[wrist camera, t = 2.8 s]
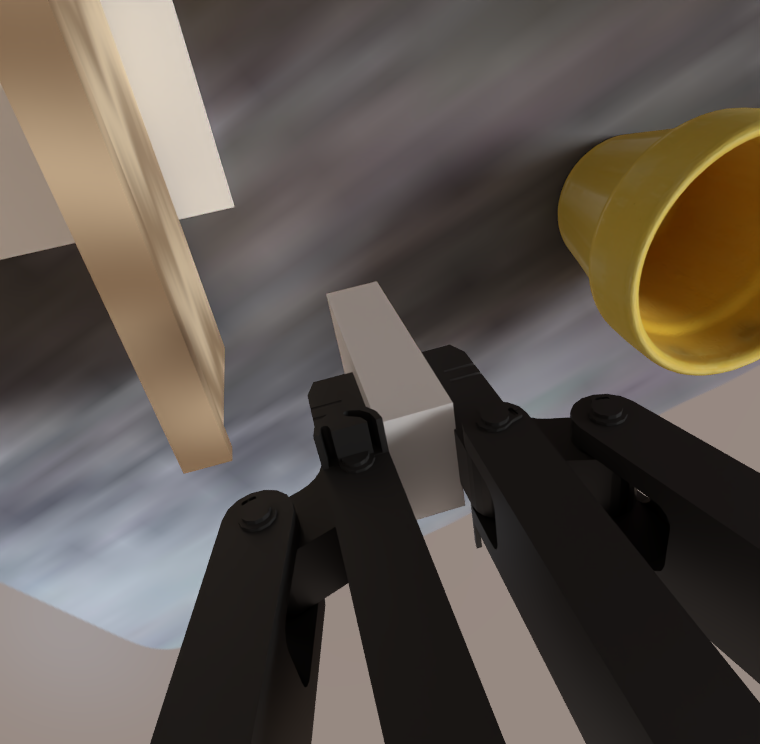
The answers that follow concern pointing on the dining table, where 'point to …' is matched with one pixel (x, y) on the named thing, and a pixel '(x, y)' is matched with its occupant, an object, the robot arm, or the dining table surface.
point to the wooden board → (118, 211)
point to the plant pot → (674, 239)
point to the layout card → (160, 116)
